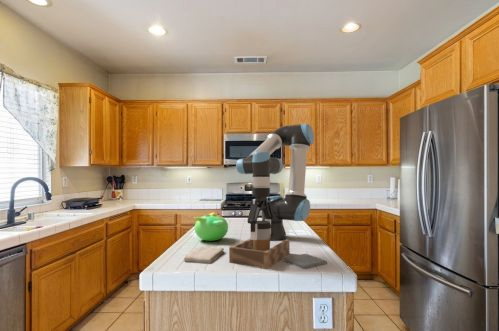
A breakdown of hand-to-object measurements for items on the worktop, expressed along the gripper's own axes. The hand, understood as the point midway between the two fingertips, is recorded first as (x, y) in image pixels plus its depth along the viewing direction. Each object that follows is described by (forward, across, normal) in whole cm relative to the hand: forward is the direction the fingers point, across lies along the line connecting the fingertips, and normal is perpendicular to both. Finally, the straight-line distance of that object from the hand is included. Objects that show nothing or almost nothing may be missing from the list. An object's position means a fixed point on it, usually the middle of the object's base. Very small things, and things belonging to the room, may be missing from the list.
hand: (261, 236), depth 121 cm
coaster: (+9, -2, +18) cm, 21 cm away
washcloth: (+10, +10, -22) cm, 26 cm away
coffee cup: (+9, 0, 0) cm, 9 cm away
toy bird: (+9, -15, -38) cm, 42 cm away
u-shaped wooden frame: (+9, 0, 0) cm, 9 cm away
